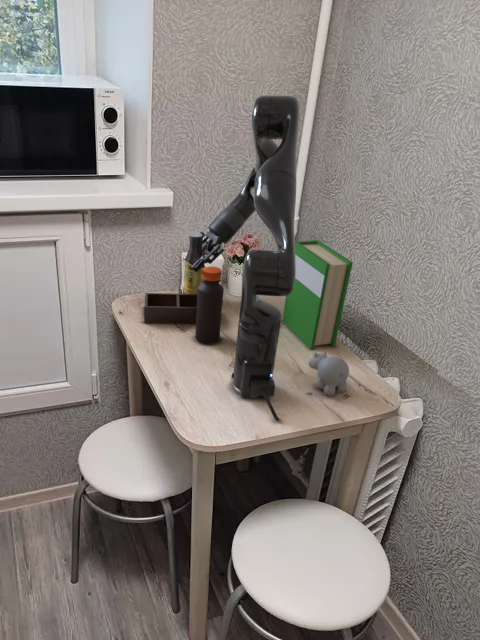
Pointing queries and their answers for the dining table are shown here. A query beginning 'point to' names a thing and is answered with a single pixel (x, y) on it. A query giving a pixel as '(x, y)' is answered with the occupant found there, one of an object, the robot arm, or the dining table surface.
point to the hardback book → (317, 293)
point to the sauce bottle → (194, 253)
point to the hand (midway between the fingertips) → (189, 265)
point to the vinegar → (209, 306)
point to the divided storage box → (170, 308)
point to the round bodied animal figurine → (330, 372)
